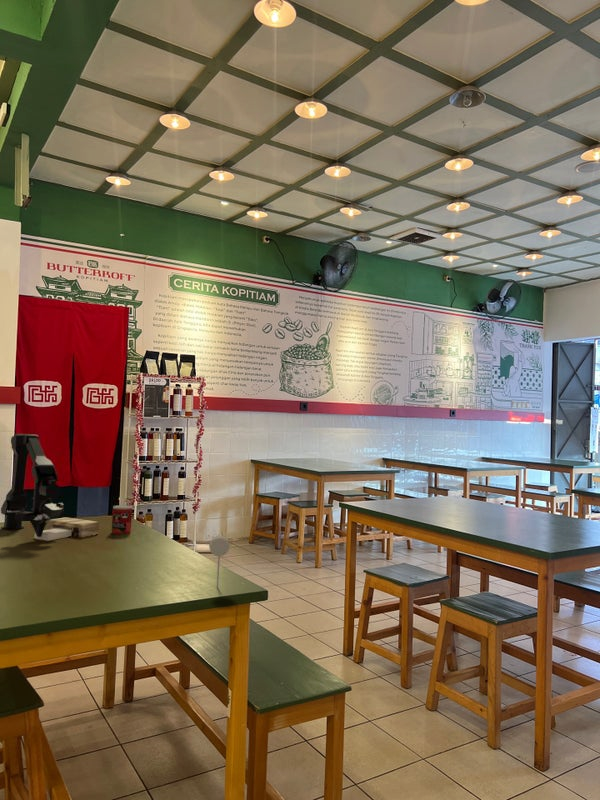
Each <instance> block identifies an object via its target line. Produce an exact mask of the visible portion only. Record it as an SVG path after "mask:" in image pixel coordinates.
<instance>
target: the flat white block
mask: <svg viewBox="0 0 600 800" xmlns="http://www.w3.org/2000/svg"><path fill="white" fill-rule="evenodd" d="M72 532H73V530H69V529H63V528H55V529H49V528H48V529H44V530H43V533H42V535H41V537H37V535H36V532H35V531H34V538H33V539H35V540H41V541H47V542H48V541H54V540H59V539H64V538H68V537H69V536H70V537H72Z"/></svg>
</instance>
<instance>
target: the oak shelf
mask: <svg viewBox="0 0 600 800" xmlns="http://www.w3.org/2000/svg"><path fill="white" fill-rule="evenodd" d="M99 527H100V521H94V520H86V519H80V518H74V517H73V518H72V517H61V518H60V517H59V518H58V517H57V518H53V519H52V520H50V521H49V522H48V530H49V529H55V528H63V529H69V530H72V528H73V530H72V532H73V537H76V536H77V535H78V536H77V537H78V538H87V537H91V535H92V536H95V535H96V534H97V535H99V529H100V528H99ZM76 531H79V532H76ZM97 535H96V536H97ZM86 536H87V537H86Z"/></svg>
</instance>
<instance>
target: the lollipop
mask: <svg viewBox="0 0 600 800" xmlns="http://www.w3.org/2000/svg"><path fill="white" fill-rule="evenodd" d="M208 547H209V551H210V553H211V554H212V555H214V556H215V557H217V573H216V588H219V581H220V580H219V578H220V575H219V574H220V561H221V560H220V559H221V558H220V557H223V556H225V555H226V554H228V552H229V550H230V549H231V544H230V541H229V540H228V538H226V537H224V536H222V535H219V536H215V537H214V538H212V539H211V541H210V543H209V546H208Z"/></svg>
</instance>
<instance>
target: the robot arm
mask: <svg viewBox="0 0 600 800" xmlns="http://www.w3.org/2000/svg"><path fill="white" fill-rule="evenodd" d="M39 438H40V437H39V435H38V434H36V433H35V434H33V433H32V434H30V433H15V434H14V435H12V436H11V437H10V444H11V449H12V451H13V453H14V462H13V471H12V480H11V481H12V482H11V489H10V490H9V491H8V492H7V494H6V496H5V500H4V501H3V504H2V505H1V508H0V513H1V514H2V515H4V523H3V524H4V525H3V526H1V527H0V529H1V530H2V529H3V530H9V531H12V530H13V531H14V530H20V529H24V528H25V526H23V525H22V524H23V522H30V524H31V526H32V529H33V530H34V533H35V532H36V535H37V537H41V535H42V533H43V531H44V530H45V528H46V525H47V524H48V523H49V521H50V520H52V519H54V517H57V518H58V517H64V516H65V508H64V507H65V505H64V503H63V502H58V503H53V500H55V499H56V498H58V497H59V496H60V495H61V491H62V489H61V487H60V485H58V484H57V482H59V476H58V473H57V470H56V468H55V466H54V464H53V462H52V460H50V459H49V458H47V457H46V455H45V452H44V451H43V448H42V445H41V443H40V439H39ZM28 456H30V459H31V461H32V467H31V474H32V475H31V476H32V477H33V479H34V480H33V483H34V487H33V488H34V490H33V497H32V498H30V501H31V502H32V503H33V504H32V508H30V511H27V510H28V505H29V501H28V499H29V497H28V494H26V492H25V484H26V481H25V480H26V472H27V466H28V465H27V464H28V463H27V462H28Z"/></svg>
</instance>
